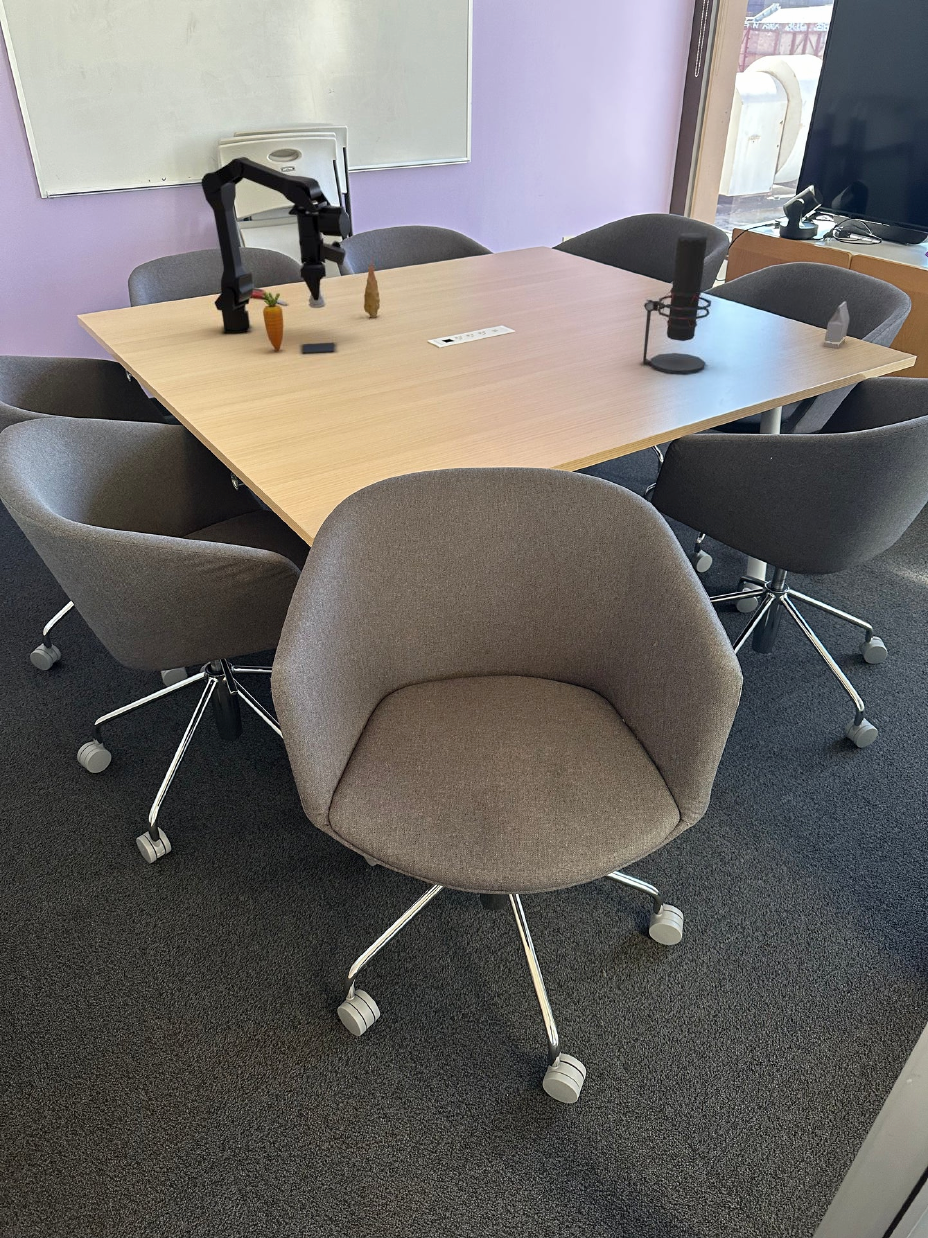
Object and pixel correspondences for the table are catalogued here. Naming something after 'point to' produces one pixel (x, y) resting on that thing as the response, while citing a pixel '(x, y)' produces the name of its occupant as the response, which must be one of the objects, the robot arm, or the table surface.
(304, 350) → the coaster
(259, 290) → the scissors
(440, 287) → the table surface
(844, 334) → the grey pointed faceted piece
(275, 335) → the carrot
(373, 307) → the stone tool
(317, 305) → the rook chess piece
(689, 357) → the microphone
